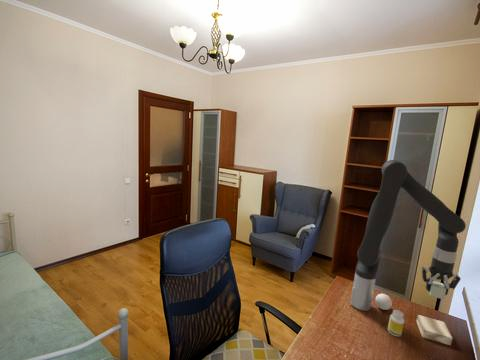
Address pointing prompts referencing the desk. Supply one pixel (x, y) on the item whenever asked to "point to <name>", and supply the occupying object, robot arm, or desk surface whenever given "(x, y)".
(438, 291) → the sage cube
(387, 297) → the white rounded oval
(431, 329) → the birch block
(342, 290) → the desk surface
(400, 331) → the supplement bottle
